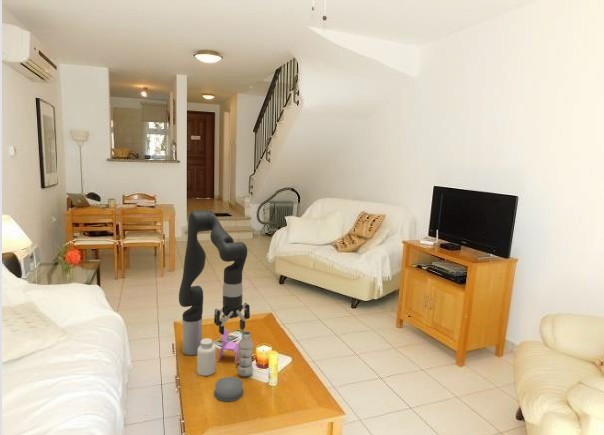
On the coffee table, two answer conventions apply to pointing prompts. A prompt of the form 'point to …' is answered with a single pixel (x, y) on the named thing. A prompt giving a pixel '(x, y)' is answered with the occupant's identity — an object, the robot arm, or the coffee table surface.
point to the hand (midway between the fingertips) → (232, 331)
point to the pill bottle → (206, 357)
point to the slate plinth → (228, 389)
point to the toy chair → (228, 345)
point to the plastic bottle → (245, 355)
